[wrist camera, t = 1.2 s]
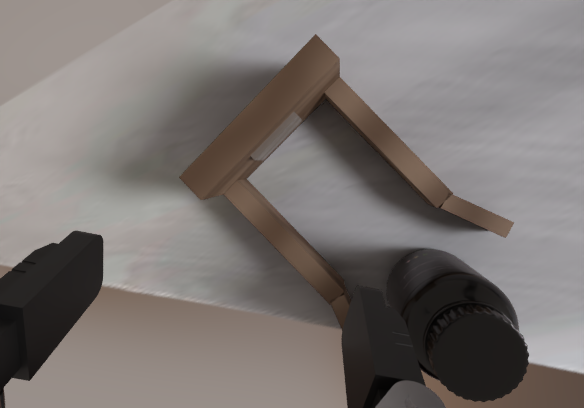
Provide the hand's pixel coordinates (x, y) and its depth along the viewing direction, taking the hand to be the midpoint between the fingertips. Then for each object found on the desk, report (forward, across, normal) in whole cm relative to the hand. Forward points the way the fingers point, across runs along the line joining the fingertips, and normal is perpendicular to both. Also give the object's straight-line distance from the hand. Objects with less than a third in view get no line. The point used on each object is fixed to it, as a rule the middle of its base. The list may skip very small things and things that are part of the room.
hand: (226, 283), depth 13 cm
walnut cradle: (+19, -7, +4) cm, 21 cm away
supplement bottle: (+17, -14, +9) cm, 24 cm away
